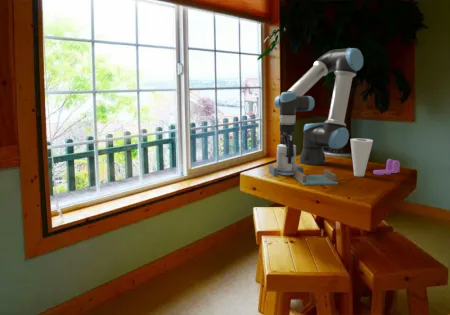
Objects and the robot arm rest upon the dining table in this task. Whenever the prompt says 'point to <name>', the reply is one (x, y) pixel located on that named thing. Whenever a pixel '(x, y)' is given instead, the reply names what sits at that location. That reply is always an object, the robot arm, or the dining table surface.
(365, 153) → the cup
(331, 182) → the docking bay
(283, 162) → the supplement tub
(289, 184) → the dining table surface
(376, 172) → the bracket
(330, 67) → the robot arm
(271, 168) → the holder
